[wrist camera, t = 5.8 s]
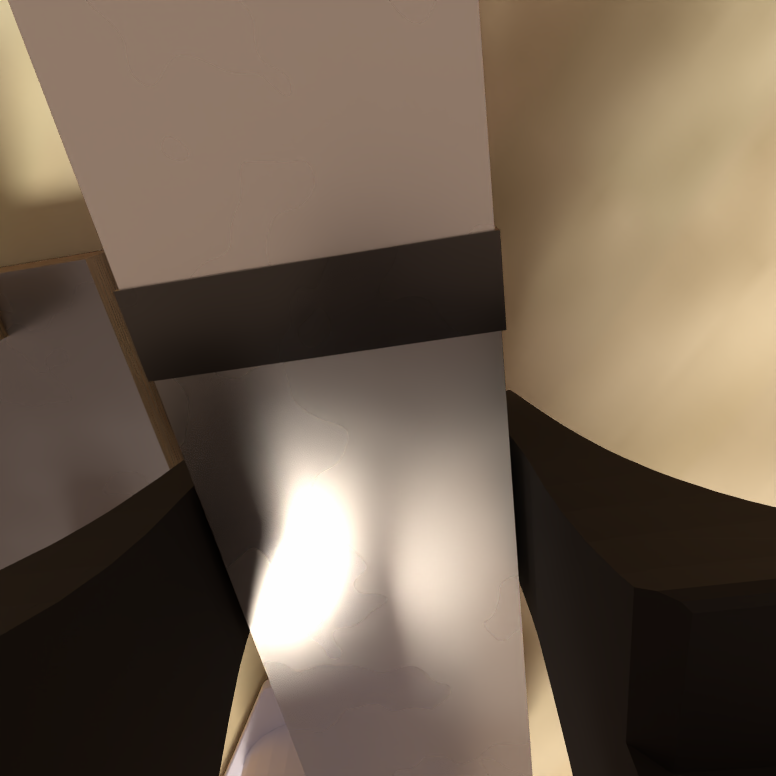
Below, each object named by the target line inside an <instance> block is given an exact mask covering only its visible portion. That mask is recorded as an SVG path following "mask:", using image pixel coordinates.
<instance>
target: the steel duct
mask: <svg viewBox="0 0 776 776" xmlns="http://www.w3.org/2000/svg"><path fill="white" fill-rule="evenodd" d="M8 2H9V4H10V7H11V10H12V12H13V15H14V17H15V20H16V23H17V25H18V28H19V30H20V33H21V36H22V38H23V41H24V43H25V46H26V49H27V51H28V54H29V56H30V59H31V62H32V64H33V67H34V69H35V72H36V75H37V77H38V80H39V82H40V85H41V88H42V90H43V93H44V95H45V98H46V101H47V103H48V106H49V108H50V111H51V114H52V116H53V119H54V122H55V124H56V127H57V129H58V132H59V135H60V137H61V140H62V142H63V145H64V148H65V150H66V153H67V155H68V158H69V161H70V163H71V166H72V168H73V171H74V174H75V176H76V179H77V181H78V184H79V187H80V189H81V192H82V194H83V197H84V200H85V202H86V205H87V207H88V210H89V213H90V215H91V218H92V220H93V223H94V226H95V228H96V231H97V233H98V236H99V239H100V241H101V244H102V246H103V249H104V252H105V254H106V257H107V259H108V262H109V265H110V267H111V270H112V273H113V275H114V278H115V280H116V283H117V286H118V288H119V289H117V290H115V291H114V295H115V297H116V300H117V303H118V305H119V308H120V310H121V313H122V315H123V318H124V321H125V323H126V326H127V328H128V331H129V333H130V336H131V339H132V341H133V344H134V346H135V349H136V351H137V354H138V357H139V359H140V362H141V364H142V367H143V369H144V372H145V374H146V377H147V380H148V382H152V381H154V382H155V384H156V387H157V390H158V392H159V395H160V397H161V400H162V403H163V405H164V408H165V411H166V413H167V416H168V418H169V421H170V424H171V426H172V429H173V431H174V434H175V437H176V439H177V442H178V444H179V447H180V450H181V452H182V455H183V457H184V460H185V463H186V465H187V468H188V470H189V473H190V476H191V478H192V481H193V483H194V486H195V489H196V491H197V494H198V496H199V499H200V502H201V504H202V507H203V509H204V512H205V515H206V517H207V520H208V522H209V525H210V528H211V530H212V533H213V535H214V538H215V541H216V543H217V546H218V548H219V551H220V554H221V556H222V559H223V562H224V564H225V567H226V569H227V572H228V575H229V577H230V580H231V582H232V585H233V588H234V590H235V593H236V595H237V598H238V601H239V603H240V606H241V608H242V611H243V614H244V616H245V619H246V621H247V624H248V627H249V629H250V632H251V634H252V637H253V640H254V642H255V645H256V647H257V650H258V653H259V655H260V658H261V660H262V663H263V666H264V668H265V671H266V673H267V676H268V679H269V681H270V684H271V686H272V689H273V692H274V694H275V697H276V700H277V702H278V705H279V707H280V710H281V713H282V715H283V718H284V720H285V723H286V726H287V728H288V731H289V733H290V736H291V739H292V741H293V744H294V746H295V749H296V752H297V754H298V757H299V759H300V762H301V765H302V767H303V770H304V772H305V775H306V776H532V762H531V748H530V733H529V719H528V705H527V690H526V676H525V661H524V647H523V632H522V618H521V604H520V589H519V575H518V560H517V546H516V531H515V517H514V503H513V488H512V474H511V459H510V445H509V430H508V416H507V402H506V387H505V373H504V358H503V344H502V331H503V330H506V317H505V302H504V286H503V271H502V256H501V240H500V230H499V229H498V228H497V227H496V226H495V225H494V214H493V200H492V185H491V171H490V156H489V142H488V127H487V113H486V99H485V84H484V70H483V55H482V41H481V27H480V12H479V0H8Z"/></svg>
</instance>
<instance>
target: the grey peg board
mask: <svg viewBox="0 0 776 776" xmlns="http://www.w3.org/2000/svg"><path fill="white" fill-rule="evenodd" d="M117 289H119V288H118V286H117V283H116V280H115V278H114V275H113V273H112V270H111V267H110V265H109V262H108V259H107V257H106V254H105V252H104V250H101V251H95V252H89V253H83V254H77V255H71V256H65V257H59V258H53V259H47V260H41V261H35V262H29V263H23V264H17V265H11V266H5V267H0V570H1V569H3V568H5V567H7V566H9V565H11V564H13V563H15V562H17V561H19V560H21V559H23V558H25V557H27V556H29V555H31V554H33V553H35V552H37V551H39V550H41V549H43V548H45V547H47V546H49V545H51V544H53V543H55V542H57V541H59V540H61V539H62V538H64V537H66V536H68V535H69V534H71V533H73V532H75V531H76V530H78V529H80V528H82V527H84V526H85V525H87V524H89V523H90V522H92V521H94V520H95V519H97V518H99V517H100V516H102V515H104V514H105V513H107V512H109V511H110V510H112V509H113V508H115V507H116V506H118V505H119V504H121V503H122V502H124V501H125V500H127V499H128V498H130V497H131V496H133V495H134V494H136V493H137V492H139V491H140V490H142V489H143V488H145V487H146V486H147V485H149V484H150V483H152V482H153V481H155V480H156V479H158V478H159V477H161V476H162V475H163V474H165V473H166V472H168V471H169V470H170V469H172V468H173V467H174V466H176V465H177V464H179V463H180V462H181V461H183V460H184V457H183V455H182V452H181V450H180V447H179V444H178V442H177V439H176V437H175V434H174V431H173V429H172V426H171V424H170V421H169V418H168V416H167V413H166V411H165V408H164V405H163V403H162V400H161V397H160V395H159V392H158V390H157V387H156V384H155V382H154V381H152V382H148V380H147V377H146V374H145V372H144V369H143V367H142V364H141V362H140V359H139V357H138V354H137V351H136V349H135V346H134V344H133V341H132V339H131V336H130V333H129V331H128V328H127V326H126V323H125V321H124V318H123V315H122V313H121V310H120V308H119V305H118V303H117V300H116V297H115V295H114V291H115V290H117Z"/></svg>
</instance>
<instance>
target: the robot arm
mask: <svg viewBox="0 0 776 776" xmlns="http://www.w3.org/2000/svg"><path fill="white" fill-rule="evenodd" d="M506 402H507V416H508V430H509V445H510V459H511V474H512V488H513V503H514V517H515V531H516V546H517V560H518V575H519V582H520V585H521V588H522V591H523V593H524V596H525V599H526V601H527V604H528V607H529V610H530V612H531V615H532V618H533V622H534V625H535V628H536V631H537V634H538V637H539V641H540V645H541V649H542V653H543V657H544V661H545V664H546V668H547V672H548V676H549V680H550V684H551V688H552V692H553V696H554V700H555V704H556V708H557V712H558V716H559V720H560V724H561V728H562V732H563V736H564V740H565V744H566V748H567V752H568V756H569V761H570V765H571V769H572V773H573V776H776V507H772V506H768V505H764V504H759V503H755V502H751V501H747V500H744V499H740V498H737V497H733V496H729V495H726V494H722V493H719V492H715V491H712V490H709V489H706V488H703V487H700V486H697V485H694V484H691V483H688V482H685V481H682V480H679V479H676V478H673V477H670V476H667V475H665V474H662V473H659V472H657V471H654V470H652V469H649V468H647V467H645V466H642V465H640V464H638V463H635V462H633V461H630V460H628V459H626V458H623V457H621V456H619V455H617V454H615V453H613V452H611V451H609V450H606V449H605V448H603V447H601V446H599V445H597V444H595V443H593V442H591V441H590V440H588V439H586V438H584V437H582V436H580V435H578V434H577V433H575V432H573V431H572V430H570V429H568V428H567V427H565V426H563V425H562V424H560V423H558V422H557V421H555V420H554V419H552V418H551V417H549V416H548V415H546V414H545V413H543V412H541V411H540V410H539V409H537V408H536V407H534V406H533V405H531V404H530V403H528V402H527V401H525V400H524V399H523V398H521V397H520V396H518V395H517V394H515V393H514V392H512V391H511V390H507V391H506ZM249 632H250V629H249V627H248V624H247V621H246V619H245V616H244V614H243V611H242V608H241V606H240V603H239V601H238V598H237V595H236V593H235V590H234V588H233V585H232V582H231V580H230V577H229V575H228V572H227V569H226V567H225V564H224V562H223V559H222V556H221V554H220V551H219V548H218V546H217V543H216V541H215V538H214V535H213V533H212V530H211V528H210V525H209V522H208V520H207V517H206V515H205V512H204V509H203V507H202V504H201V502H200V499H199V496H198V494H197V491H196V489H195V486H194V483H193V481H192V478H191V476H190V473H189V470H188V468H187V465H186V463H185V460H183V461H181V462H180V463H179V464H177V465H176V466H174V467H173V468H172V469H170V470H169V471H168V472H166V473H165V474H163V475H162V476H161V477H159V478H158V479H156V480H155V481H153V482H152V483H150V484H149V485H147V486H146V487H145V488H143V489H142V490H140V491H139V492H137V493H136V494H134V495H133V496H131V497H130V498H128V499H127V500H125V501H124V502H122V503H121V504H119V505H118V506H116V507H115V508H113V509H112V510H110V511H109V512H107V513H105V514H104V515H102V516H100V517H99V518H97V519H95V520H94V521H92V522H90V523H89V524H87V525H85V526H84V527H82V528H80V529H78V530H76V531H75V532H73V533H71V534H69V535H68V536H66V537H64V538H62V539H61V540H59V541H57V542H55V543H53V544H51V545H49V546H47V547H45V548H43V549H41V550H39V551H37V552H35V553H33V554H31V555H29V556H27V557H25V558H23V559H21V560H19V561H17V562H15V563H13V564H11V565H9V566H7V567H5V568H3V569H1V570H0V776H219V772H220V767H221V761H222V755H223V750H224V744H225V739H226V733H227V727H228V722H229V717H230V712H231V707H232V702H233V697H234V692H235V687H236V682H237V677H238V672H239V668H240V664H241V660H242V656H243V652H244V649H245V645H246V642H247V638H248V635H249ZM224 776H306V775H305V772H304V770H303V767H302V765H301V762H300V759H299V757H298V754H297V752H296V749H295V746H294V744H293V741H292V739H291V736H290V733H289V731H288V728H287V726H286V723H285V720H284V718H283V715H282V713H281V710H280V707H279V705H278V702H277V700H276V697H275V694H274V692H273V689H272V686H271V684H270V681H269V679H268V680H266V681H265V682H264V683H263V685H262V687H261V690H260V692H259V694H258V697H257V699H256V702H255V704H254V706H253V709H252V711H251V713H250V716H249V718H248V720H247V723H246V725H245V727H244V730H243V732H242V735H241V737H240V739H239V742H238V744H237V746H236V749H235V751H234V753H233V756H232V758H231V760H230V763H229V765H228V767H227V770H226V772H225V775H224Z"/></svg>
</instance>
